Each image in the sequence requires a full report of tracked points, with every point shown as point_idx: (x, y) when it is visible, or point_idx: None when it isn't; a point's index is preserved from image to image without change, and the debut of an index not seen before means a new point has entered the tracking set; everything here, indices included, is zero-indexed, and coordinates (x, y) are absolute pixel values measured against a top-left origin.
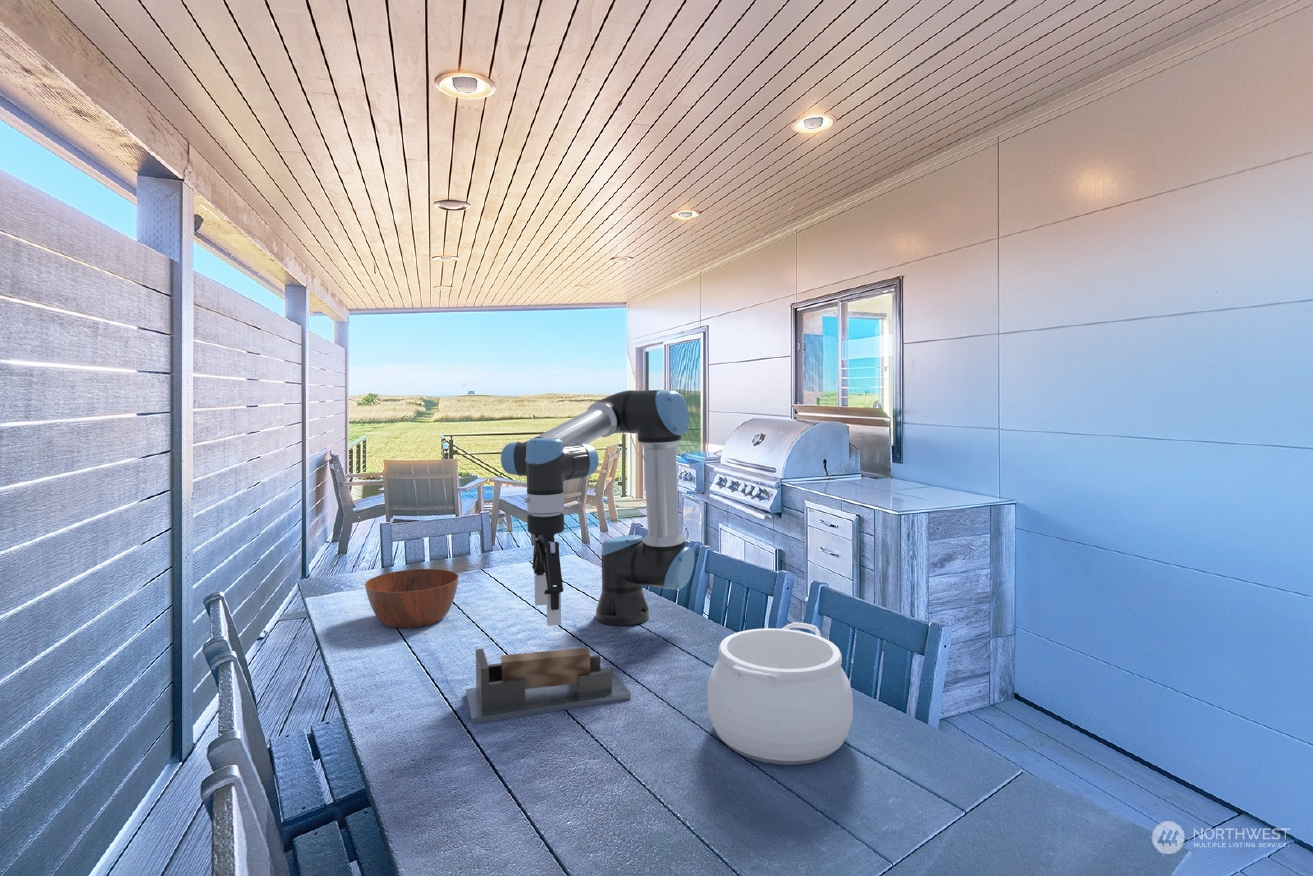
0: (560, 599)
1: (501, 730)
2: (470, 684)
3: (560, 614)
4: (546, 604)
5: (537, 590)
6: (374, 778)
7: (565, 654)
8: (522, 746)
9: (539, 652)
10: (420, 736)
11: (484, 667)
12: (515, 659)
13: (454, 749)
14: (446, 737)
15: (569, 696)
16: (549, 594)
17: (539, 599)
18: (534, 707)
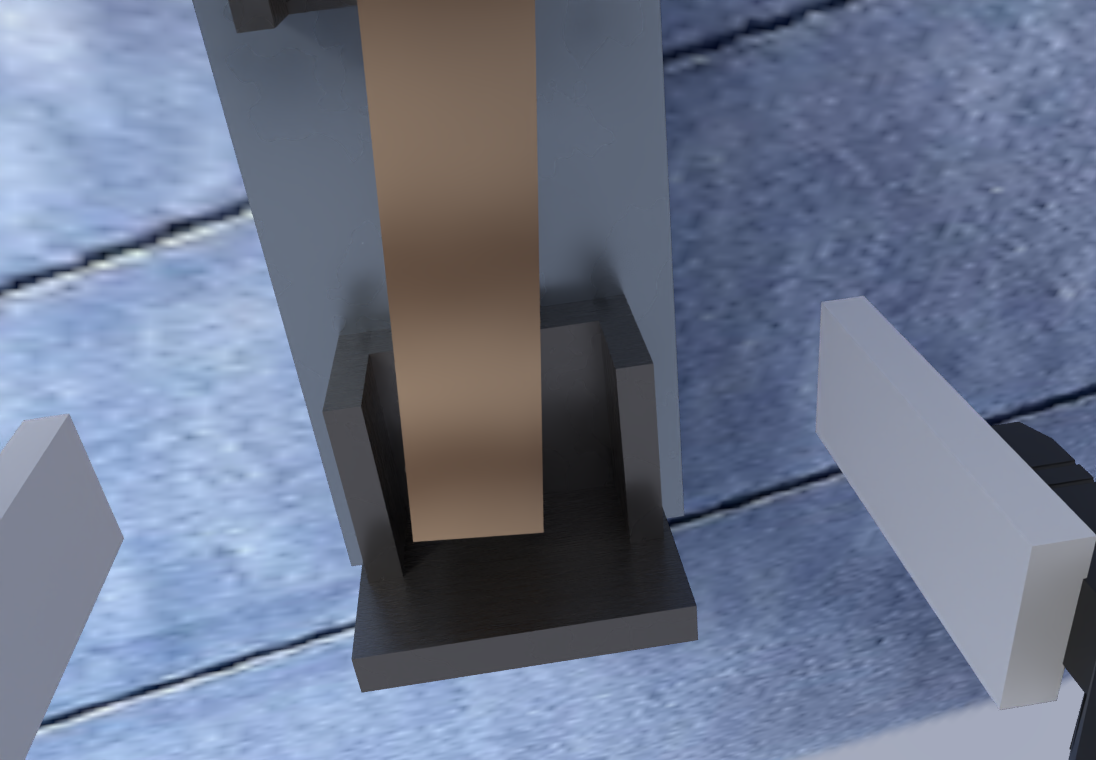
0: (1021, 464)
1: (774, 383)
2: (224, 540)
3: (912, 355)
4: (74, 430)
5: (48, 657)
6: (943, 713)
7: (490, 106)
8: (957, 295)
9: (401, 308)
10: (712, 648)
11: (679, 626)
12: (506, 460)
13: (862, 536)
14: (754, 571)
15: (569, 32)
16: (1056, 662)
17: (81, 547)
18: (658, 248)
